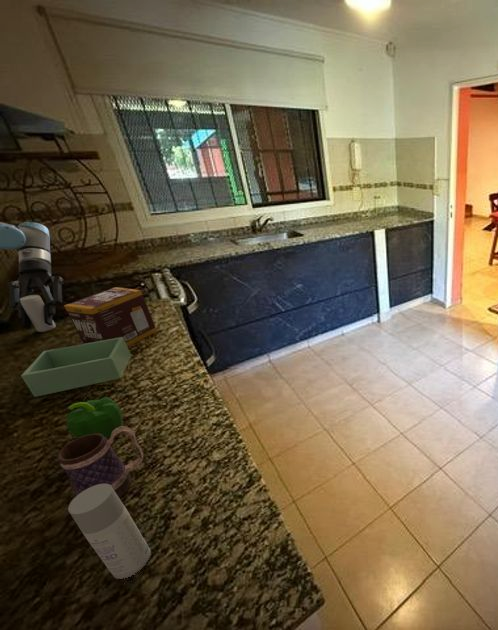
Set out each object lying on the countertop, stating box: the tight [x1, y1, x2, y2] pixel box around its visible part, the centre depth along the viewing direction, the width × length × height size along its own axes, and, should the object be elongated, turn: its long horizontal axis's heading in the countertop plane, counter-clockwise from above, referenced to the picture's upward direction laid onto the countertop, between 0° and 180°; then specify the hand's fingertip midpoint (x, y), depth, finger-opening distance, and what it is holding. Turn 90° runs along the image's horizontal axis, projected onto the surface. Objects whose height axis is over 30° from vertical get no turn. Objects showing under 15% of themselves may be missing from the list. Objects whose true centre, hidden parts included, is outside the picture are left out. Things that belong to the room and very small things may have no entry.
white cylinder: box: [19, 294, 57, 333], centre depth 115 cm, size 5×5×12 cm
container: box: [67, 484, 152, 580], centre depth 49 cm, size 5×5×15 cm
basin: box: [21, 337, 132, 398], centre depth 93 cm, size 18×13×7 cm
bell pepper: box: [66, 396, 124, 440], centre depth 73 cm, size 8×8×10 cm
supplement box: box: [63, 286, 158, 348], centre depth 108 cm, size 10×15×16 cm
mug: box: [57, 425, 144, 499], centre depth 61 cm, size 10×7×12 cm
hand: (37, 325), depth 114 cm, fingers closed on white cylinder, 5 cm apart
